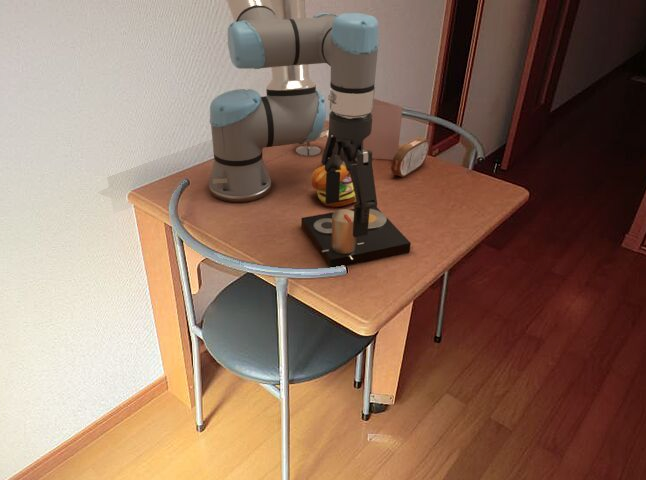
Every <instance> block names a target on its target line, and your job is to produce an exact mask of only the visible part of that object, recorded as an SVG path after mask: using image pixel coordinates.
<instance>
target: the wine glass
mask: <svg viewBox="0 0 646 480" xmlns="http://www.w3.org/2000/svg"><path fill="white" fill-rule="evenodd" d="M321 152H322V151H321V148H320V147H318V146H317V145H312V144H311V142H306V144H305V145H304V144H303V145H300V146H298V147H297V148H296V149H295V153H297V154H298V155H300V156H307V157H310V156H311V157H312V156H317V155H319V154H321Z"/></svg>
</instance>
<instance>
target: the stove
mask: <svg viewBox="0 0 646 480" xmlns="http://www.w3.org/2000/svg"><path fill="white" fill-rule="evenodd" d="M370 209H374V210H377V211H380V212H382V210H380V208H379V207H378V206H377V207H373V208H370ZM348 210H351V211H354V208H349V209H348ZM334 212H335V211H333V212H326V213H321V214H315V215H311V216H310V215H309V216H304V217H301V223H300V224H301V227H300V228H301V229H302V230H303V232H304V233H305V235H306V237H307V238H308V239H309V241H310V242H311V244H312V245H313V246H314V248H315V249H316V251H317V252H318V254H319V255H320V257H321V258H322V259H323V261H324V263H325V264H326V265H327V267H328V268H329V267H336V266H341V265H345V266H344V267H348V266H353V265H358V264H362V263H367V262H373V261H377V260H381V259H387V258H390V257H391V258H392V257H395V256H400V255H405V254H409V253H410V252H411V242H410V240H409V239H408V238H407V237H406V236H405V235H404V234H403V233H402V232H401V231H400V230H399V229H398V228H397V226H396V225H395V224H393V223H392V221H391V220H390V219H389V218H388V217H387V216H386V218H387V221H386V224H385V225H384V226H383V227H381V228H378V229H371V230H368V235H364V236H359V237H356V248H355V251H354V252H352V253H350V254H338V253H336V252H334V251H333V250H332V249H331V234H322V233H319V232H317V231H316V230H315V229H314V223H315V222H316V221H317V220H320V219H324V218H330V219H332V214H333V213H334Z"/></svg>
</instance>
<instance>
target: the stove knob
mask: <svg viewBox="0 0 646 480" xmlns="http://www.w3.org/2000/svg"><path fill="white" fill-rule="evenodd" d="M333 212H334V213H333V214H332V234H331V249H332V250H333V251H334V252H336V253H338V254H350V253H352V252H354V251H355V248H356V237H354V236H353V222H354V211H351V210H349V209H347V208H346V209H345V208H343V209H338V210H335V211H333Z"/></svg>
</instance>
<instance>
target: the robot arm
mask: <svg viewBox="0 0 646 480" xmlns="http://www.w3.org/2000/svg"><path fill="white" fill-rule="evenodd" d="M226 4H227V7H228V9H229V12H230V16H231V18H232V21H233V22H231V23H230V24H229V25H228V27H227V47H228V51H229V58H230V61H231V63H232V65H233V66H234V67H235V68H237V69H241V70H242V69H243V70H244V69H245V70H246V69H247V70H248V69H250V70H251V69H253V70H260V69H268V68H269V69H270V73H271V80H270V82H268V84H267V85H266V91H265V92H266V95H265V96H261V94H260V92H259V91H257V90H255V89H251V88H249V89H246V88H237V89H233V90H228V91H225V92H223V93H220V94H218V95H217V96H216V97H214V98H213V99H212V100H211V102H210V105H209V124H210V129H211V130H210V131H211V138H212V139H211V140H212V141H211V142H212V149H213V164H212V168H211V171H210V176H209V179H208V188H209V193H210V194H211V195H212V196H213V197H214V198H216V199H218V200H221V201H224V202H229V203H248V202H253V201H257V200H259V199H262V198H263V197H265V196H267V195H268V194H269V193H270V192H271V190H272V179H271V176H270V173H269V171H268V168H267V166H266V163H265V160H264V157H263V155H264V154H263V149H265V148H271V147H272V148H273V147H280V146H289V145H297V144H298V145H304V144H307V142H310V143H311V142H315V141H317V140H318V139H319V138H320V137H321V136H322V134H323V131H324V129H325V124H326V116H327V115H326V113H327V112H326V111H327V109H326V107H327V106H326V104H325V98H324V95H323V94H322V92H321V91H318V90H317V86H316V83H315V82H314V81H312V79H311V78H310V76H309V65H317V64H318V65H319V64H327V65H328V66H329V67H330V82H329V83H330V84H329V85H330V94H329V95H328V96H327V98H328V101H329V109H330V112H329V116H328V117H329V119H328V131H329V134H328V139H327V138H326V143H325V146H324V150H323V153H322V157H321V161H320V163H321V165H322V166H325V171H326V172H327V173H326V199H325V202H326V204H330V203H336V202H339V190H340V172H339V171H338V172H336V170H341V169H340V168H341V167H340V166H341V164H342V163H343V161H344V163H345V165H346V169H347V171H349V175H350V178H351V180H352V184H353V188H354V192H355V197H356V204H354V205H353V209H354V222H353V236H354V237H359V236H364V235H368V223H369V210H370V208H373V207H377V208H378V200H377V199H378V198H377V192H376V191H377V190H376V184H375V175H374V169H373V158H372V151H371V150H368V151H365V150H364V147H363V140H364V139H365V138H366V137H368V136H369V135H370V134H371V128H372V114H371V112H372V111H373V104H374V99H375V92H376V91H375V89H376V87H375V84H376V73H377V62H378V49H379V45H380V39H379V21H378V18H376V17H375V16H373V15H371V14H365V13H362V12H361V13H359V12H347V13H341V14H337V15H336V14H333V13H328V12H321V13H318V14H316V15H313V16H312V17H308V18H306V1H305V0H226Z"/></svg>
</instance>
